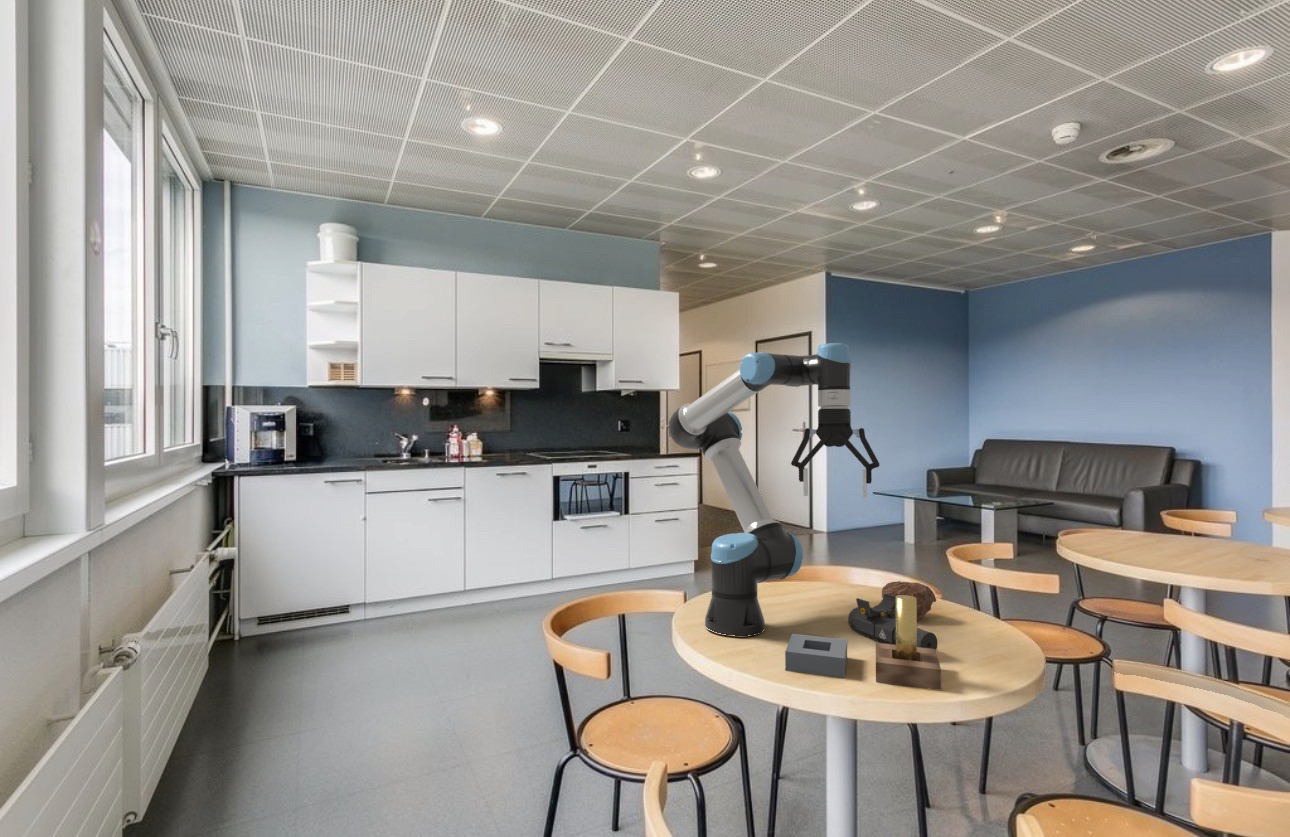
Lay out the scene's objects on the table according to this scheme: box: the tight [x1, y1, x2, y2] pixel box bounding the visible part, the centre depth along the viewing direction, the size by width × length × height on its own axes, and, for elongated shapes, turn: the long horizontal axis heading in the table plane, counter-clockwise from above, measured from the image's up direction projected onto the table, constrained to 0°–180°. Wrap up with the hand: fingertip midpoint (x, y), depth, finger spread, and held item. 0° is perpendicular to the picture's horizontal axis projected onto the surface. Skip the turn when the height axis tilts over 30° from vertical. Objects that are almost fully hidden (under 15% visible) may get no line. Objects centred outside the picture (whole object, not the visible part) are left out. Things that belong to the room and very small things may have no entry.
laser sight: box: [847, 594, 939, 651], centre depth 150 cm, size 10×22×10 cm, turn 27°
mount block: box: [784, 633, 848, 679], centre depth 137 cm, size 12×12×4 cm
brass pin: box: [895, 595, 918, 661], centre depth 131 cm, size 4×4×16 cm
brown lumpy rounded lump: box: [881, 580, 937, 621], centre depth 170 cm, size 13×11×10 cm
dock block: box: [875, 642, 942, 690], centre depth 131 cm, size 12×12×4 cm
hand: (834, 496), depth 151 cm, fingers open, 13 cm apart
